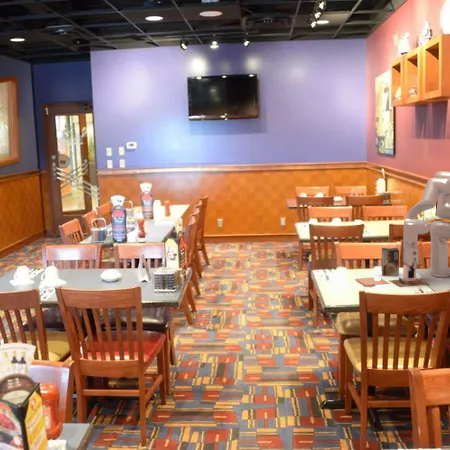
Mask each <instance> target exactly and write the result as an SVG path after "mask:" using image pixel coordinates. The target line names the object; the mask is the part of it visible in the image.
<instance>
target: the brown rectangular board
mask: <svg viewBox="0 0 450 450" xmlns="http://www.w3.org/2000/svg"><path fill="white" fill-rule="evenodd" d="M388 283H391V284H393V285H395V286H397V287H399V288H410V287H419V286H420V287H421V286H431V284H430V283H428V282H426V281H424V280H422V279H419V278H418V277H416V281H405V280H404V279H403V278H401V277H398V279H394V280H393V279H391V280H388Z"/></svg>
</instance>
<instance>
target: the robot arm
mask: <svg viewBox="0 0 450 450" xmlns="http://www.w3.org/2000/svg"><path fill="white" fill-rule="evenodd" d="M423 190H424V191H423V193H422V195H421V198H420V200H419V201H418V202H417V203H416V204H414V205H413V206H412V207H411V208H410V209H409V210H408V211H407V213H406V216H405V218H404V221H403V235H402V238H403V239H402V240H403V241H402V243H403V244H402V247H403V249H402V262H403V266H404V265H409V271H408V278H414V271H415V269H416V270H417V268H418V267H417V266H419V264H420V262H419V261H420V259H419V249H418V247H419V246H418V243H419V242H418V238H419V236H418V235H425V234H427V233H429V232H430V261H429V262H430V264H429V265H430V267H429V270H428V271H426V274H427V275H429V276H433V277H435V278H448V277H450V266H449V267H448V265H449V262H448V261H449V243H448V240H450V171H446V170H445V171H444V170H441V171H436V172H435V173H434V176H433V177H431V178H429V179H428V181H427V182H426V184H425V187H424V189H423ZM435 207H436V210H435V211H436V212H435V214H436V217H437V218H439V219H442V220H435V221H433V222H432V223H431V224H430V223H429V221H428V220H424V219H423V220H422V219H417V216H418V215H419V214H421V213H422V212H426V211H428V210H430V209H431V210H432V209H433V208H435ZM443 220H444V221H443ZM446 220H447V221H446ZM447 239H448V240H447ZM412 264H413V265H412ZM411 267H412V268H411Z"/></svg>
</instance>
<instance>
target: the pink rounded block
mask: <svg viewBox="0 0 450 450" xmlns="http://www.w3.org/2000/svg"><path fill="white" fill-rule="evenodd" d="M412 265H413V264H412ZM402 267H403V268H402V269H403V270H402V271H403V272H402V277H403V278H402V279H404V280H405V281H416V279H417V268H416V269H415V271H414V278H408V271H409V265H404V264H403V266H402ZM411 268H412V267H411Z"/></svg>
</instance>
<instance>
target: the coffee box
mask: <svg viewBox="0 0 450 450" xmlns="http://www.w3.org/2000/svg"><path fill="white" fill-rule="evenodd" d="M381 271H382V275H381V276H383V277H399V276H400V249H399V248H398V247H381Z"/></svg>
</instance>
